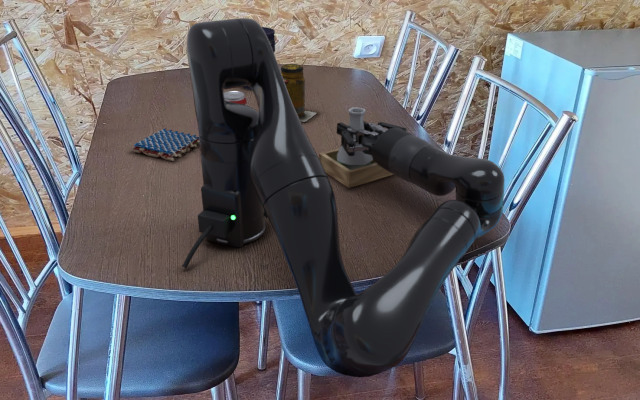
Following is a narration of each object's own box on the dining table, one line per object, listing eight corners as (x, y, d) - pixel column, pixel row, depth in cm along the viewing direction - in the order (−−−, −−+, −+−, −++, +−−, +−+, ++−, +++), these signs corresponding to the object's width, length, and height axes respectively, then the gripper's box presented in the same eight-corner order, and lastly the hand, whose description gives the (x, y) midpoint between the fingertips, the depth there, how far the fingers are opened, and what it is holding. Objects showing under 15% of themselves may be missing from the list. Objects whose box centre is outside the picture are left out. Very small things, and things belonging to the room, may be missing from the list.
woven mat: (131, 153, 118) (129, 144, 117) (163, 135, 126) (162, 127, 125) (171, 163, 114) (170, 153, 113) (202, 144, 122) (201, 135, 121)
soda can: (244, 154, 117) (241, 99, 112) (220, 152, 118) (216, 97, 112) (252, 145, 122) (249, 91, 116) (229, 142, 123) (225, 89, 117)
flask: (367, 169, 106) (370, 118, 101) (331, 163, 108) (332, 113, 104) (377, 154, 112) (380, 106, 108) (342, 149, 114) (344, 101, 110)
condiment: (286, 108, 143) (285, 61, 137) (317, 113, 140) (317, 65, 134) (273, 117, 137) (271, 68, 131) (304, 123, 134) (304, 73, 128)
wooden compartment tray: (425, 164, 115) (427, 149, 114) (348, 188, 106) (349, 172, 104) (393, 147, 122) (394, 133, 121) (318, 168, 113) (319, 153, 111)
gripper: (373, 185, 95) (316, 150, 108) (434, 166, 102) (374, 135, 115) (375, 144, 92) (316, 113, 104) (438, 127, 99) (376, 100, 111)
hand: (347, 125), depth 109 cm, fingers closed on flask, 3 cm apart
